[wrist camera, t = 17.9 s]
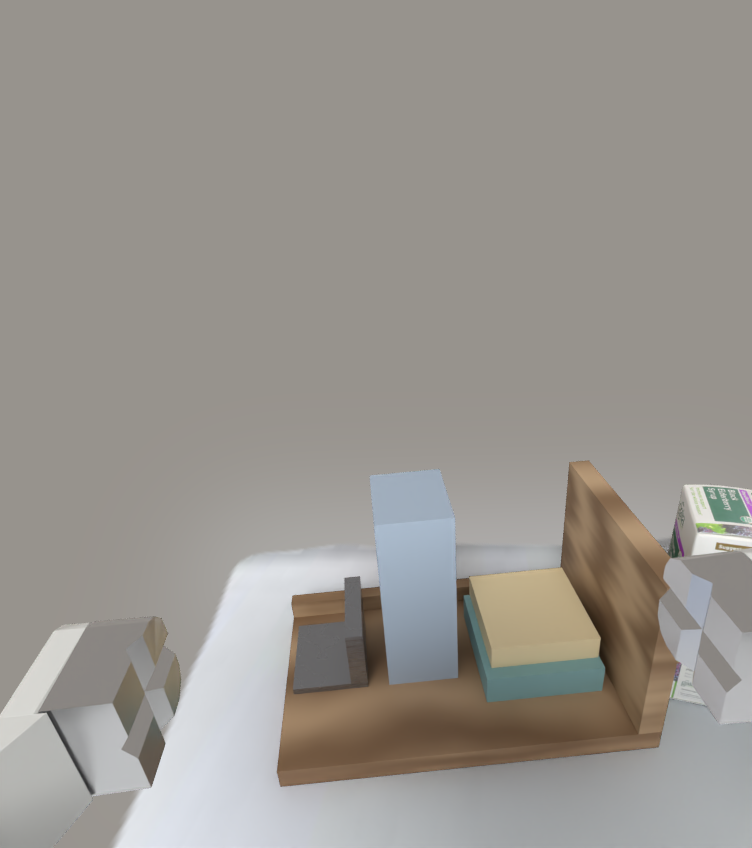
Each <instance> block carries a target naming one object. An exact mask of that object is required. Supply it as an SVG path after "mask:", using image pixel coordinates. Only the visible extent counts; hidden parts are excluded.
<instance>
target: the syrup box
mask: <svg viewBox="0 0 752 848" xmlns="http://www.w3.org/2000/svg"><path fill="white" fill-rule="evenodd" d="M748 548H752V490H750V489H744V488H737V487H729V486H717V485H697V484H696V485H695V484H692V485H684V486H683V488H682V492H681V497H680V502H679V507H678V512H677V517H676V521H675V525H674V529H673V534H672V538H671V542H670V547H669V551H668V555H669V556H670V557H671V558H677V557H685V556H694V555H702V554H710V553H719V552H727V551H734V550H740V549H748ZM693 674H694V671H693V670H691V669H690V668H688V667H686V666H685V665H683V664H681V663H680V662H677V666H676V671H675V675H674V680H673V684H672V689H671V693H670V698H671V699H676V700H681V701H685V702H690V703H695V704H700V705H705V703H704V702H703V700H702V699H701V697H700V696H699V694H698V693H697V691H696V690H695V688H694V687H693V685H692V682H693ZM705 706H706V705H705Z"/></svg>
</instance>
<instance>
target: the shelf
mask: <svg viewBox="0 0 752 848" xmlns="http://www.w3.org/2000/svg"><path fill="white" fill-rule="evenodd" d="M670 558H671V557H670V556H669V555H668V554H667V553H666V551H665V550H664V549H663V548H662V547H661V546H660V544H659V543H658V542H657V541H656V540H655V538H654V537H653V536H652V535H651V534H650V533H649V531H648V530H647V529H646V528H645V527H644V525H643V524H642V523H641V522H640V521H639V520H638V519H637V517H636V516H635V515H634V514H633V513H632V511H631V510H630V509H629V508H628V507H627V505H626V504H625V503H624V502H623V501H622V500H621V498H620V497H619V496H618V495H617V493H616V492H615V491H614V490H613V489H612V488H611V486H610V485H609V484H608V483H607V482H606V481H605V479H604V478H603V477H602V476H601V475H600V473H599V472H598V471H597V470H596V469H595V468H594V466H593V465H592V464H591V463H590V462H589V461H579V462H570V463H569V474H568V487H567V498H566V509H565V522H564V533H563V544H562V556H561V567H562V568H563V570H564V572H565V574H566V576H567V578H568V579H569V581H570V583H571V585H572V587H573V588H574V590H575V592H576V594H577V596H578V598H579V599H580V601H581V603H582V605H583V607H584V608H585V610H586V612H587V614H588V616H589V618H590V619H591V621H592V623H593V625H594V627H595V628H596V630H597V632H598V634H599V636H600V637H601V641H600V648H599V657H600V659H601V661H602V662H603V664H604V666H605V674H604V681H603V688H602V691H594V692H584V693H574V694H565V695H555V696H545V697H535V698H526V699H516V700H506V701H496V702H487V700H486V697H485V693H484V689H483V685H482V682H481V678H480V674H479V671H478V667H477V663H476V660H475V656H474V652H473V648H472V645H471V641H470V637H469V634H468V630H467V626H466V623H465V619H464V596H463V595H470V594H469V578H466V579H456V592H457V644H458V678H452V679H442V680H432V681H422V682H413V683H403V684H393V685H389V676H388V666H387V655H386V645H385V635H384V624H383V614H382V604H381V593H380V587H375V588H365V589H361V590H362V599H363V608H364V616H365V626H366V647H367V667H368V687H362V688H352V689H342V690H333V691H323V692H313V693H303V694H294V693H293V682H294V672H295V662H296V652H297V641H298V631H299V626H304V625H314V624H324V623H334V622H344V621H345V590H344V591H334V592H324V593H314V594H304V595H294V596H292V610H293V615H294V623H293V632H292V641H291V650H290V659H289V668H288V677H287V686H286V695H285V704H284V713H283V722H282V731H281V740H280V749H279V759H278V768H277V774H278V778H279V782H280V786H281V787H282V786H292V785H301V784H311V783H320V782H330V781H339V780H349V779H359V778H368V777H378V776H387V775H397V774H406V773H416V772H425V771H435V770H445V769H454V768H464V767H473V766H483V765H492V764H502V763H512V762H521V761H531V760H540V759H550V758H559V757H569V756H578V755H588V754H598V753H607V752H617V751H626V750H636V749H645V748H655V747H659V743H660V738H661V734H662V729H663V725H664V720H665V716H666V711H667V707H668V702H669V698H670V693H671V689H672V684H673V680H674V675H675V671H676V666H677V662H678V661H677V660H675V658H674V657H673V655H672V653H671V652H670V650H669V649H668V647H667V645H666V643H665V641H664V638H663V636H662V634H661V630H660V625H659V620H658V608H659V599H660V598H661V597H662V596H663V595H664V594H665V593H666V592H667V591H668V590H669V589H670V587H669V585H668V584H667V583H666V581H665V580H664V579H663V575H664V570H665V565H666V564H667V562H668V561H669V559H670Z"/></svg>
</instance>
